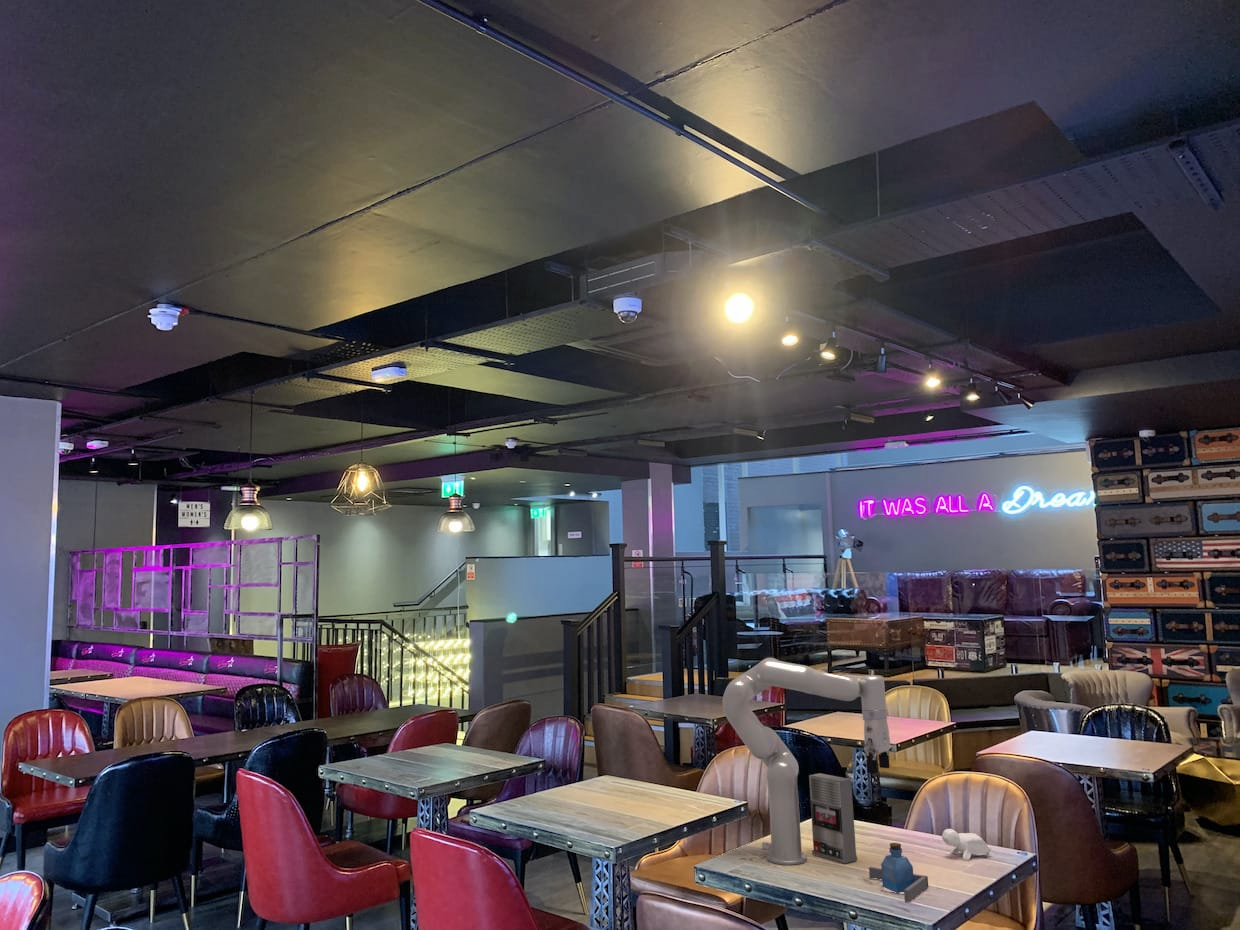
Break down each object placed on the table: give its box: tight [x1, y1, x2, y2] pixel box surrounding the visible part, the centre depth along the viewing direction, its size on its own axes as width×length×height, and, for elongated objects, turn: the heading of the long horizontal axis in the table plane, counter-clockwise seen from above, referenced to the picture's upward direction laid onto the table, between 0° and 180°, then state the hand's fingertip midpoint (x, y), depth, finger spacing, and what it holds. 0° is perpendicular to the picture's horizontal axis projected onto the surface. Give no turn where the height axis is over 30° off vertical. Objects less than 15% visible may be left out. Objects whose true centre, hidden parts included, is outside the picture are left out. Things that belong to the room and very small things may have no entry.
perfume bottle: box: [880, 842, 914, 893], centre depth 252 cm, size 6×6×12 cm
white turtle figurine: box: [941, 828, 992, 862], centre depth 281 cm, size 9×8×15 cm
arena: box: [868, 866, 929, 903], centre depth 252 cm, size 17×15×3 cm
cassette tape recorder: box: [808, 772, 858, 865], centre depth 285 cm, size 14×6×25 cm, turn 34°
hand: (878, 770), depth 279 cm, fingers open, 9 cm apart
